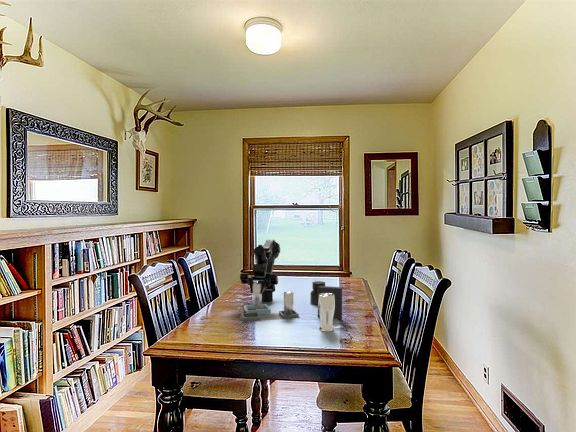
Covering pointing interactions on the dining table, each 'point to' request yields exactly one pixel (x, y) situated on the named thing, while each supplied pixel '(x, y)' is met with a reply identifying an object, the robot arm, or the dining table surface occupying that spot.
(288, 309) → the billet
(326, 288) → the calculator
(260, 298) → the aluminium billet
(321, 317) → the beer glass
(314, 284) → the ink bottle
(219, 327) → the dining table surface
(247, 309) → the tote
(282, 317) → the tray
